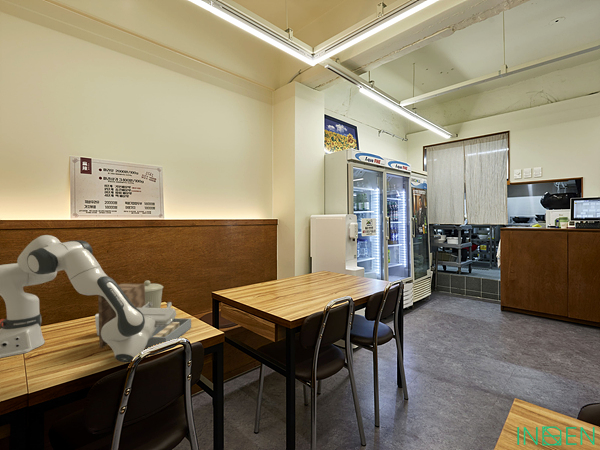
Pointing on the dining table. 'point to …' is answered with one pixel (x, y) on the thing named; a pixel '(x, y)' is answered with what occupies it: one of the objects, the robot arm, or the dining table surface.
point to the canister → (153, 294)
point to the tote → (183, 328)
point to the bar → (167, 330)
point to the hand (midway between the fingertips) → (160, 302)
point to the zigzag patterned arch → (106, 311)
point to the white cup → (97, 323)
